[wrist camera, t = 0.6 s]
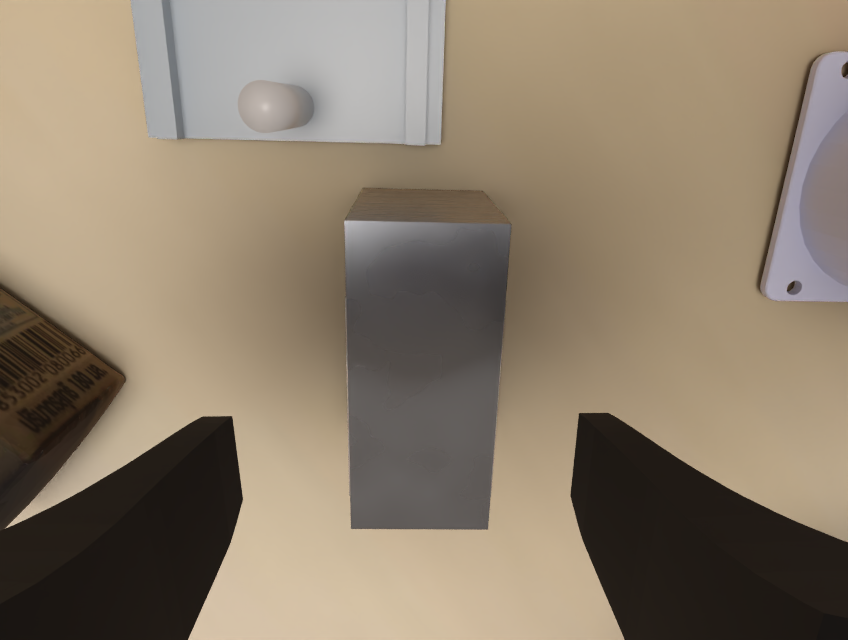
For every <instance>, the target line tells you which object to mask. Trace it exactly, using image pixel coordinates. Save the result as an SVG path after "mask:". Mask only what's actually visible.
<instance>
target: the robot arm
mask: <svg viewBox="0 0 848 640" xmlns="http://www.w3.org/2000/svg"><path fill="white" fill-rule="evenodd" d="M846 62H847V63H848V52H842V51H836V52H829V53H824V54H822V55H821V56H819V57H818V58H817V59H816V60H815V61H814V63H813V65H812V67H811V70H810V74H809V79H808V83H807V87H806V92H805V96H804V100H803V104H802V109H801V113H800V117H799V122H798V126H797V130H796V134H795V139H794V143H793V147H792V152H791V156H790V160H789V165H788V169H787V173H786V177H785V182H784V186H783V190H782V195H781V199H780V203H779V207H778V212H777V216H776V220H775V225H774V229H773V233H772V237H771V242H770V246H769V250H768V255H767V259H766V263H765V267H764V272H763V276H762V280H761V286H760V290H761V292H762V294H763V295H764V296H765V297H767V298H769V299H771V300H775V301H814V302H848V74H847V76H845V77H844V78H843V76H842V74H841V69H842V67H843V65H844V64H845V63H846ZM792 281H795V286H794V287H793V289H791V290H790V291H787V286H788V285H789V283H791V282H792ZM571 499H572V503H573V507H574V511H575V515H576V519H577V522H578V526H579V529H580V533H581V536H582V539H583V542H584V544H585V547H586V549H587V552H588V554H589V556H590V559H591V561H592V564H593V566H594V568H595V571H596V573H597V576H598V578H599V580H600V583H601V585H602V587H603V590H604V592H605V594H606V597H607V599H608V601H609V604H610V606H611V608H612V611H613V613H614V615H615V618H616V620H617V622H618V625H619V627H620V629H621V632H622V634H623V636H624V639H625V640H848V542H845V541H842V540H840V539H837V538H835V537H832V536H830V535H827V534H825V533H822V532H820V531H818V530H815V529H813V528H810V527H808V526H805V525H803V524H800V523H798V522H796V521H794V520H791V519H789V518H787V517H785V516H782V515H780V514H778V513H776V512H774V511H772V510H770V509H768V508H766V507H764V506H762V505H760V504H758V503H756V502H753V501H751V500H749V499H747V498H745V497H743V496H742V495H740V494H738V493H736V492H734V491H732V490H730V489H728V488H727V487H725V486H723V485H721V484H720V483H718V482H716V481H715V480H713V479H711V478H709V477H708V476H706V475H704V474H703V473H701V472H699V471H698V470H696V469H694V468H693V467H691V466H689V465H688V464H686V463H685V462H683V461H682V460H680V459H678V458H677V457H675V456H674V455H672V454H671V453H669V452H668V451H666V450H665V449H663V448H662V447H660V446H659V445H657V444H656V443H654V442H653V441H651V440H650V439H648V438H647V437H645V436H644V435H642V434H641V433H639V432H638V431H636V430H635V429H633V428H632V427H630V426H629V425H627V424H626V423H624V422H623V421H621V420H620V419H618V418H616V417H615V416H613V415H611V414H609V413H579V419H578V429H577V439H576V448H575V458H574V467H573V477H572V487H571ZM242 501H243V497H242V489H241V481H240V473H239V466H238V458H237V450H236V442H235V435H234V427H233V419H232V416H220V417H201V418H199V419H197V420H195V421H194V422H192V423H190V424H188V425H187V426H185V427H184V428H182V429H181V430H179V431H177V432H176V433H174V434H173V435H171V436H170V437H168V438H167V439H165V440H164V441H162V442H161V443H159V444H158V445H156V446H154V447H153V448H151V449H150V450H148V451H147V452H145V453H144V454H142V455H141V456H139V457H137V458H136V459H134V460H133V461H131V462H130V463H128V464H127V465H125V466H123V467H121V468H120V469H118V470H116V471H115V472H113V473H111V474H110V475H108V476H106V477H105V478H103V479H101V480H100V481H98V482H96V483H95V484H93V485H91V486H90V487H88V488H86V489H84V490H83V491H81V492H79V493H77V494H75V495H74V496H72V497H70V498H68V499H66V500H64V501H62V502H60V503H59V504H57V505H55V506H53V507H51V508H49V509H47V510H45V511H42V512H40V513H38V514H36V515H34V516H32V517H30V518H28V519H26V520H24V521H22V522H20V523H17V524H15V525H13V526H11V527H8V528H6V529H3V530H1V531H0V640H188V638H189V636H190V634H191V631H192V629H193V627H194V625H195V622H196V620H197V618H198V616H199V613H200V611H201V609H202V607H203V604H204V602H205V600H206V598H207V595H208V593H209V591H210V589H211V587H212V584H213V582H214V580H215V578H216V575H217V573H218V571H219V568H220V566H221V564H222V561H223V559H224V557H225V555H226V552H227V550H228V547H229V545H230V543H231V539H232V536H233V533H234V529H235V526H236V523H237V519H238V515H239V512H240V508H241V504H242Z"/></svg>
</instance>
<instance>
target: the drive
mask: <svg viewBox="0 0 848 640" xmlns="http://www.w3.org/2000/svg"><path fill="white" fill-rule="evenodd" d="M344 224H345V270H346V296H345V322H346V367H347V412H348V457H349V496H350V503H351V529H488V521H489V508H490V497H491V488H492V475H493V463H494V450H495V437H496V424H497V411H498V398H499V385H500V372H501V359H502V346H503V333H504V320H505V307H506V287H507V274H508V261H509V248H510V235H511V223H510V222H509V221H508V220H507V218H506V217H505V216H504V215H503V214H502V213H501V212H500V210H499V209H498V208H497V207H496V206H495V205H494V203H493V202H492V201H491V200H490V199H489V198H488V196H487V195H486V194H485V193H484V192H483V191H470V190H426V189H382V188H363V189H362V191H361V193H360V194H359V196H358V198H357V200H356V201H355V203H354V205H353V206H352V208H351V210H350V212H349V213H348V215H347V217H346V219H345V220H344Z"/></svg>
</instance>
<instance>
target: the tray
mask: <svg viewBox="0 0 848 640" xmlns="http://www.w3.org/2000/svg"><path fill="white" fill-rule="evenodd" d="M445 5H446V0H131V7H132V15H133V22H134V30H135V38H136V45H137V53H138V61H139V68H140V76H141V83H142V91H143V99H144V106H145V114H146V122H147V129H148V137H155V138H157V139H183V138H195V139H235V140H275V141H315V142H355V143H395V144H405V145H425V144H435V145H441V123H442V94H443V64H444V35H445Z"/></svg>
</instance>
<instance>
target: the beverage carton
mask: <svg viewBox="0 0 848 640" xmlns="http://www.w3.org/2000/svg"><path fill="white" fill-rule="evenodd" d="M124 382H125V378H124V376H122V375H121V374H119V373H118V372H116V371H115V370H113V369H112V368H110V367H109V366H108V365H106V364H105V363H104V362H102V361H101V360H100V359H98V358H97V357H96V356H94V355H93V354H92V353H90V352H89V351H88V350H86V349H85V348H83V347H82V346H81V345H79V344H78V343H76V342H75V341H74V340H72V339H71V338H69V337H68V336H67V335H65V334H64V333H63V332H61V331H60V330H58V329H57V328H56V327H54V326H53V325H51V324H50V323H49V322H47V321H46V320H44V319H43V318H42V317H40V316H39V315H37V314H36V313H35V312H33V311H32V310H31V309H29V308H28V307H26V306H25V305H23V304H22V303H21V302H19V301H18V300H16V299H15V298H14V297H12V296H11V295H9V294H8V293H6V292H5V291H4V290H2V289H1V288H0V531H1V530H3V529H5V528H6V527H7V526H8V525H9V524H10V523H11V522H12V521H13V520H14V519H15V518H16V517H17V516H18V515H19V514H20V513H21V512H22V511H23V510H24V509H25V508H26V507H27V506H28V505H29V504H30V502H31V501H32V500H33V499H34V498H35V497H36V496H37V495H38V493H39V492H40V491H41V490H42V489H43V488H44V487H45V486H46V484H47V483H48V482H49V481H50V480H51V479H52V478H53V477H54V475H55V474H56V473H57V472H58V470H59V469H60V468H61V467H62V466H63V464H64V463H65V462H66V461H67V459H68V458H69V457H70V456H71V455H72V453H73V452H74V451H75V450H76V448H77V447H78V446H79V445H80V443H81V442H82V441H83V439H84V438H85V437H86V436H87V434H88V433H89V432H90V430H91V429H92V428H93V427H94V425H95V424H96V423H97V421H98V420H99V419H100V417H101V416H102V414H103V413H104V412H105V410H106V409H107V407H108V406H109V405H110V403H111V402H112V400H113V399H114V398H115V396H116V395H117V393H118V392H119V390H120V389H121V387H122V386H123V384H124Z"/></svg>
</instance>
